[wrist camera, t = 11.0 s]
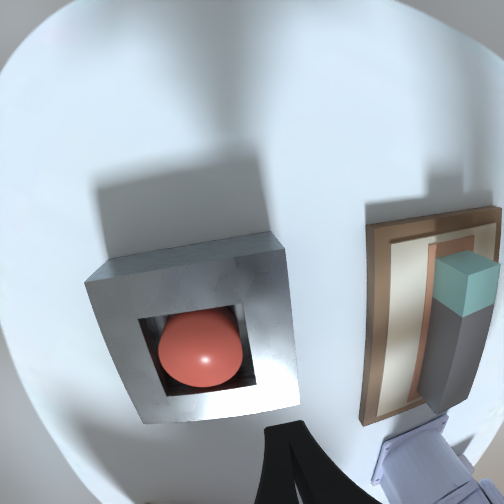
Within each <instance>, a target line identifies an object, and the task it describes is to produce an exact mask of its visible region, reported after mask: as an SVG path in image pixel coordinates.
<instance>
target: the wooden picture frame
mask: <svg viewBox="0 0 504 504" xmlns="http://www.w3.org/2000/svg"><path fill="white" fill-rule="evenodd" d="M501 219H502V208H500V207H496V206H488V207H481V208H474V209H468V210H461V211H454V212H448V213H441V214H435V215H428V216H422V217H415V218H409V219H402V220H396V221H390V222H383V223H377V224H371V225H366V243H367V323H366V345H365V361H364V373H363V385H362V395H361V404H360V412H359V421H360V422H361V424H362V426H363V427H364V426H367V425H370V424H373V423H376V422H379V421H381V420H384V419H387V418H389V417H392V416H394V415H397V414H400V413H402V412H404V411H407V410H409V409H412V408H414V407H416V406H419V405H421V404H423V403H425V400H424V399H423V398H422V397H421V396H420V394H419V393H418V392H417V391H416V390H417V386H418V382H419V377H420V373H421V368H422V363H423V358H424V352H425V346H426V341H427V334H428V328H429V320H430V313H431V304H432V294H433V283H434V270H435V258H439V257H443V256H447V255H451V254H454V253H458V252H462V251H465V250H470V251H472V252H474V253H477V254H479V255H481V256H484V257H486V258H488V259H491V260H493V261H495V262H497V263H498V259H499V249H500V237H501Z"/></svg>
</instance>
